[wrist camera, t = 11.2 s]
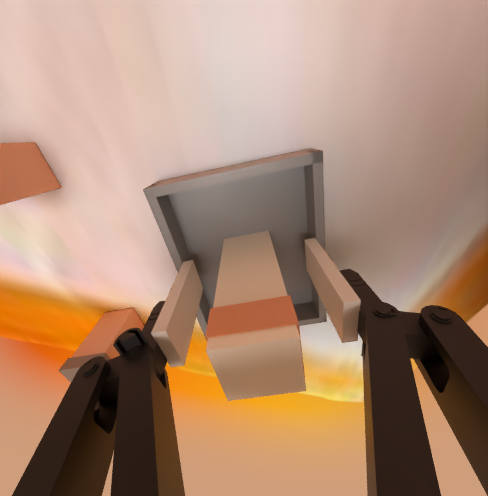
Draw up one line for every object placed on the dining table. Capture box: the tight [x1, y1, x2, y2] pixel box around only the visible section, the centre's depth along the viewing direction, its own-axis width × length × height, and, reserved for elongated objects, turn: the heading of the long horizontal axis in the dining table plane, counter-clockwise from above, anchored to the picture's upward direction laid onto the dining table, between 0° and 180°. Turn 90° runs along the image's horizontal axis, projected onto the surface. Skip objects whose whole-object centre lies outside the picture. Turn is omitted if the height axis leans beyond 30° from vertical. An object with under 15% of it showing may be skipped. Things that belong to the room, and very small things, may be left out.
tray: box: [143, 149, 327, 338], centre depth 17 cm, size 11×14×3 cm
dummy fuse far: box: [59, 308, 144, 382], centre depth 19 cm, size 3×3×6 cm
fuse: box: [205, 231, 306, 401], centre depth 13 cm, size 4×4×10 cm
